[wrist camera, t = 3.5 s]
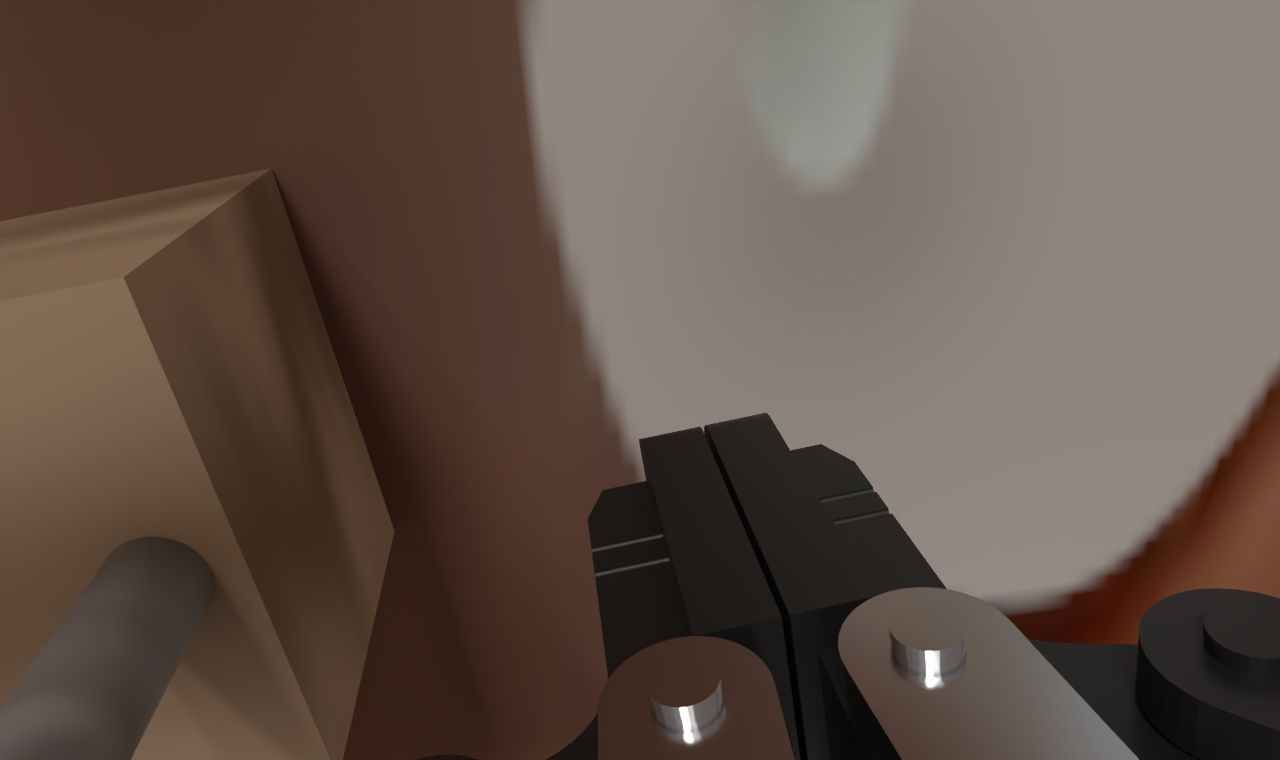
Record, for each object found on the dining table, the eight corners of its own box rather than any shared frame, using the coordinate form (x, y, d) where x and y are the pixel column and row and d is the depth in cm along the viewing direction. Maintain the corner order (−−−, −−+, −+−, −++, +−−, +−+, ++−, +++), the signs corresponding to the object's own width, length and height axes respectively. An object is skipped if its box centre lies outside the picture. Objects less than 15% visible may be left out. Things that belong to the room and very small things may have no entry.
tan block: (-44, 229, 14) (-1770, 972, 3) (272, 167, 14) (-438, 688, 4) (133, 585, 17) (-512, 1590, 6) (394, 529, 17) (195, 1410, 7)
